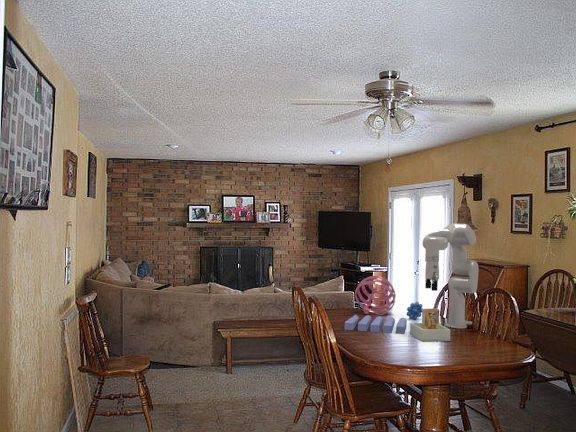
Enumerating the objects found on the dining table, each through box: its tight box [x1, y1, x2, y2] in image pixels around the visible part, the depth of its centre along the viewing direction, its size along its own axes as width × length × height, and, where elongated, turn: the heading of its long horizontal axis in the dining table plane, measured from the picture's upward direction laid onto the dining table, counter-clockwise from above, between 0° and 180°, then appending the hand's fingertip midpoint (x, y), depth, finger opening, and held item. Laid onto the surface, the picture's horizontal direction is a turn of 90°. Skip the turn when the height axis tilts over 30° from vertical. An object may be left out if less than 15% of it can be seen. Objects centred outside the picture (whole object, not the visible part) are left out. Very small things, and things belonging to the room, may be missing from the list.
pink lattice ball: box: [354, 275, 396, 317], centre depth 394 cm, size 28×28×27 cm
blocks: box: [344, 313, 408, 335], centre depth 348 cm, size 35×34×5 cm
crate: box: [409, 322, 451, 343], centre depth 319 cm, size 16×20×6 cm
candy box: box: [421, 308, 440, 329], centre depth 318 cm, size 9×4×15 cm, turn 105°
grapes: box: [406, 301, 424, 321], centre depth 378 cm, size 12×7×12 cm, turn 99°
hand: (431, 289), depth 320 cm, fingers open, 9 cm apart
